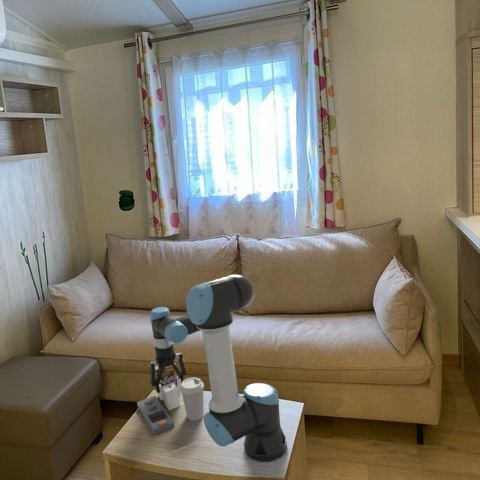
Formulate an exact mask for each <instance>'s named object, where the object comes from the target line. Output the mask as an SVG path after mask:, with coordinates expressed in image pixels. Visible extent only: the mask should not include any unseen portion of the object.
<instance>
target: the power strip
mask: <svg viewBox="0 0 480 480" xmlns="http://www.w3.org/2000/svg"><path fill="white" fill-rule="evenodd" d="M136 403H137V404H136V405H137V408H138V409H139V411H140V413H141V415H142V416H143V418H144V419H145V421H146V423H147V424H148V426H149V428H150V430H151V431H152V432H153V434H154V435H157V434H158V433H162V432H164V431H166V430H169V429H172V428H174V427H175V424H174V423H175V422H174V420H173V419H172V417H171V416H170V414H169V413H168V412H167V410H166V409H165V407H164V405H162V404H161V401H159V398H157V396H156V395H153V396H150V397H147V398H145V399H142V400H140V401H139V400H138V401H137V402H136Z"/></svg>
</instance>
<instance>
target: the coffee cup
mask: <svg viewBox="0 0 480 480" xmlns="http://www.w3.org/2000/svg"><path fill="white" fill-rule="evenodd" d="M204 388H205V384H204V382H203V381H202V379H201V378H198V377H188V378H185V379H183V382H182V383H181V386H180V391H181V393H180V394H181V396H182V400H183V404H184V409H185V413H186V417H187V419H188V420H189V421H192V422H195V421H196V422H197V421H199V420H201V419H202V418H204V415H205V414H204V413H205V412H204V409H205V408H204Z"/></svg>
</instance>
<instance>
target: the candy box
mask: <svg viewBox="0 0 480 480" xmlns="http://www.w3.org/2000/svg"><path fill="white" fill-rule="evenodd" d="M174 363H175V365H176V361H174ZM158 366H159V364H156V367H155V376H156V375H157V371H158ZM176 366H177V365H176ZM177 376H178V374H177V373H176V371H175V370H174V368H173V367H172V365H171V366H167V367H165V368H164V370H163V373H162V377H161V381H160V385H161V387H162V386H165V385H167V384H170V383H174V384H175V385H176V386H177V387H178V384H177ZM178 393H179V398H180V392H179V391H178ZM157 394H158V396H159V393H157ZM162 394H163V389H162ZM158 400H159V402H161V401H164V397H163V400H161V399H160V398H159V397H158Z"/></svg>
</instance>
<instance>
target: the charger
mask: <svg viewBox="0 0 480 480" xmlns="http://www.w3.org/2000/svg"><path fill="white" fill-rule="evenodd" d="M162 389H163V397H164V400H163V403H164V406H165V407H166V408H167V410H168V411H171V410H174V409H176V408H178V407H181V403H180V397H179V395H180V392H179V393H178V387H177V386H176V385H175V384H174V383H170V384H167V385H165V386H162Z"/></svg>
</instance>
